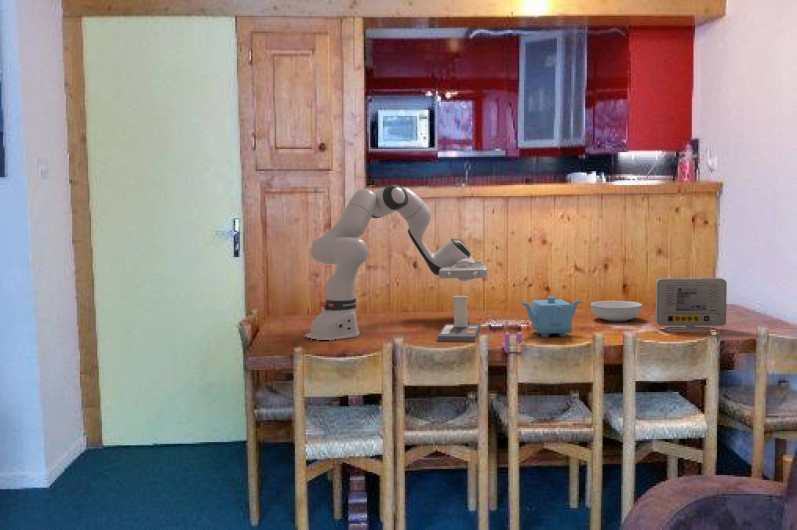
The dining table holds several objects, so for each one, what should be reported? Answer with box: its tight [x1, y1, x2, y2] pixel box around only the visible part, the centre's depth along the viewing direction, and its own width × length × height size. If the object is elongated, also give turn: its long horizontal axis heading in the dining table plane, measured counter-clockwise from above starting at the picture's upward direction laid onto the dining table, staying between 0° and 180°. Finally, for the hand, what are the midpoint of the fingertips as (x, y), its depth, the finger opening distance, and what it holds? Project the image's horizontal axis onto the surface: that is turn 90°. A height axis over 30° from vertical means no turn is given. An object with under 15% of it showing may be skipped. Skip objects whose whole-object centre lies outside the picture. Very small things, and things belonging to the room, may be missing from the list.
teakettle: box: [519, 296, 584, 338], centre depth 317 cm, size 19×19×15 cm
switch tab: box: [452, 295, 469, 327], centre depth 327 cm, size 3×6×12 cm, turn 80°
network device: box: [655, 277, 728, 333], centre depth 320 cm, size 26×9×20 cm, turn 80°
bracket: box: [502, 331, 523, 354], centre depth 294 cm, size 13×6×7 cm, turn 179°
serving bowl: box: [590, 300, 643, 323], centre depth 347 cm, size 21×21×7 cm
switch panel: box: [437, 323, 481, 343], centre depth 323 cm, size 26×14×2 cm, turn 170°
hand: (461, 276), depth 340 cm, fingers open, 8 cm apart
